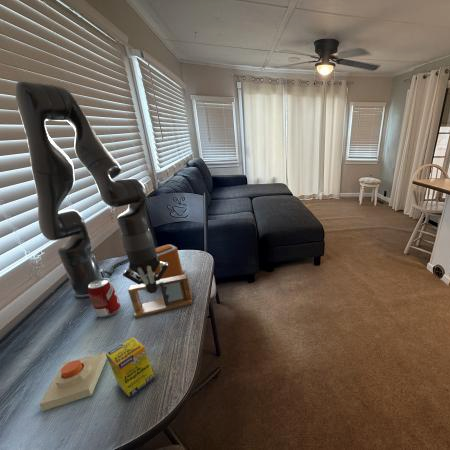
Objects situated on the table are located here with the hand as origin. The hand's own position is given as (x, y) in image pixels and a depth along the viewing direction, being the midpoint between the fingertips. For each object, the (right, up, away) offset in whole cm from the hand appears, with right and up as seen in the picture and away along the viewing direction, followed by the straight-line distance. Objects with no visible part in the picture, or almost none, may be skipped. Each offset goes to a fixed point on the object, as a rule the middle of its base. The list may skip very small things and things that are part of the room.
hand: (153, 291), depth 79 cm
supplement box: (+8, -17, -20) cm, 28 cm away
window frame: (0, -7, +7) cm, 10 cm away
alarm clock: (-10, -1, +24) cm, 26 cm away
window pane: (+4, -6, +6) cm, 10 cm away
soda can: (-18, -9, +5) cm, 21 cm away
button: (-7, -14, -21) cm, 26 cm away
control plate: (-7, -17, -19) cm, 27 cm away
